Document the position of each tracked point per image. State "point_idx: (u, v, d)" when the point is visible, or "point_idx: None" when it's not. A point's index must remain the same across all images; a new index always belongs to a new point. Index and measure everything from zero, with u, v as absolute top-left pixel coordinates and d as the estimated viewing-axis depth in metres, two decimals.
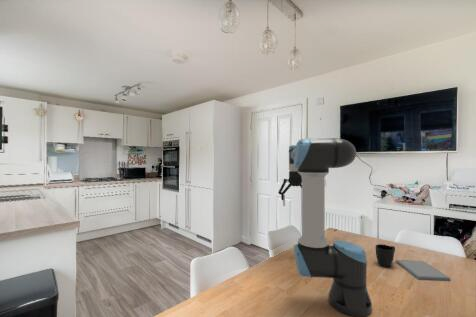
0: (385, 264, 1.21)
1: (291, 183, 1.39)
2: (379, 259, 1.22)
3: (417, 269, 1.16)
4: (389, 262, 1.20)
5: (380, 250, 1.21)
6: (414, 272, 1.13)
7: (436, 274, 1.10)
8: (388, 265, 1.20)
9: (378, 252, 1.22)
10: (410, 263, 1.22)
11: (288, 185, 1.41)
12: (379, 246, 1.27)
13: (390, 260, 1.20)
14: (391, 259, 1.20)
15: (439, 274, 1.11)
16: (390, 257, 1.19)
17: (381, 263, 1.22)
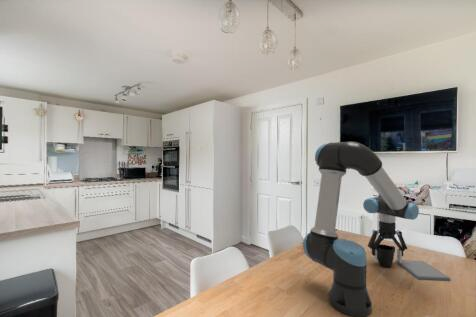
0: (385, 264, 1.21)
1: (384, 236, 1.22)
2: (379, 259, 1.22)
3: (417, 269, 1.16)
4: (389, 262, 1.20)
5: (380, 250, 1.21)
6: (414, 272, 1.13)
7: (436, 274, 1.10)
8: (388, 265, 1.20)
9: (378, 252, 1.22)
10: (410, 263, 1.22)
11: (379, 238, 1.24)
12: (379, 246, 1.27)
13: (390, 260, 1.20)
14: (391, 259, 1.20)
15: (439, 274, 1.11)
16: (390, 257, 1.19)
17: (381, 263, 1.22)
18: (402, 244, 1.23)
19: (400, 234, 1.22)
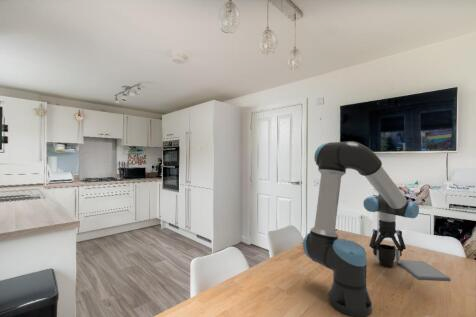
0: (386, 264, 1.21)
1: (384, 235, 1.22)
2: (381, 259, 1.22)
3: (417, 269, 1.16)
4: (391, 262, 1.20)
5: (382, 250, 1.21)
6: (414, 272, 1.13)
7: (436, 274, 1.10)
8: (390, 265, 1.20)
9: (380, 252, 1.22)
10: (410, 263, 1.22)
11: (380, 237, 1.24)
12: (380, 246, 1.27)
13: (392, 260, 1.20)
14: (393, 259, 1.20)
15: (439, 274, 1.11)
16: (392, 257, 1.19)
17: (382, 263, 1.22)
18: (401, 244, 1.23)
19: (400, 234, 1.22)
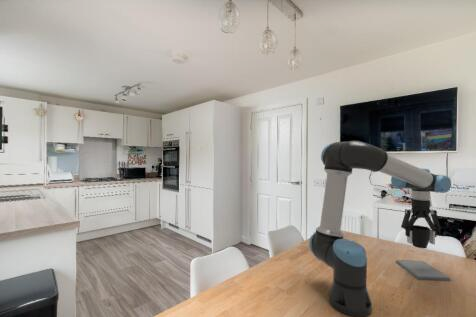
0: (421, 245, 1.13)
1: (418, 215, 1.15)
2: (414, 240, 1.15)
3: (417, 269, 1.16)
4: (426, 243, 1.13)
5: (416, 230, 1.14)
6: (414, 272, 1.13)
7: (436, 274, 1.10)
8: (424, 246, 1.13)
9: (414, 232, 1.15)
10: (410, 263, 1.22)
11: (413, 217, 1.17)
12: (412, 227, 1.20)
13: (427, 240, 1.13)
14: (428, 239, 1.13)
15: (439, 274, 1.11)
16: (427, 237, 1.12)
17: (416, 244, 1.15)
18: (435, 224, 1.16)
19: (435, 213, 1.15)
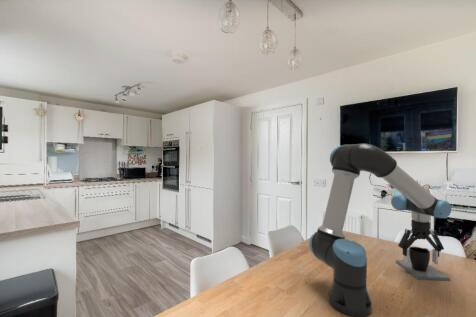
0: (421, 268, 1.13)
1: (417, 236, 1.15)
2: (414, 263, 1.15)
3: None
4: (425, 266, 1.13)
5: (416, 253, 1.14)
6: (414, 272, 1.13)
7: (436, 274, 1.10)
8: (424, 269, 1.13)
9: (413, 255, 1.15)
10: (410, 263, 1.22)
11: (412, 237, 1.17)
12: (412, 249, 1.20)
13: (427, 264, 1.13)
14: (427, 262, 1.13)
15: (439, 274, 1.11)
16: (427, 260, 1.12)
17: (416, 267, 1.15)
18: (438, 244, 1.16)
19: (435, 234, 1.15)
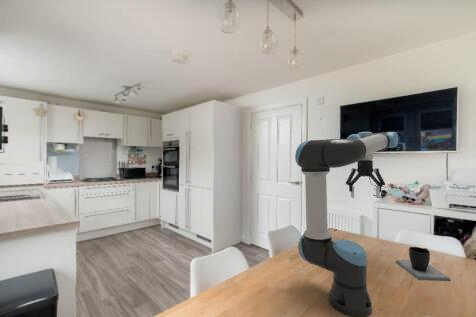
0: (421, 268, 1.13)
1: (361, 173, 1.28)
2: (414, 263, 1.15)
3: None
4: (425, 266, 1.13)
5: (416, 253, 1.14)
6: (414, 272, 1.13)
7: (436, 274, 1.10)
8: (424, 269, 1.13)
9: (413, 255, 1.15)
10: (410, 263, 1.22)
11: (357, 175, 1.30)
12: (412, 249, 1.20)
13: (427, 264, 1.13)
14: (427, 262, 1.13)
15: (439, 274, 1.11)
16: (427, 260, 1.12)
17: (416, 267, 1.15)
18: (380, 180, 1.29)
19: (377, 171, 1.28)
